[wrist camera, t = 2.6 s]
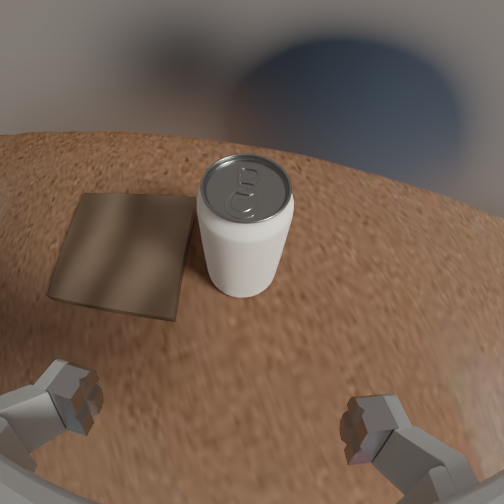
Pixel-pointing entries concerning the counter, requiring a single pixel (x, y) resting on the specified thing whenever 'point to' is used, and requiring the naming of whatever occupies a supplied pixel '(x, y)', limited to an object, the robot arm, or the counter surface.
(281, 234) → the can
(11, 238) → the counter surface
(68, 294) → the walnut board
